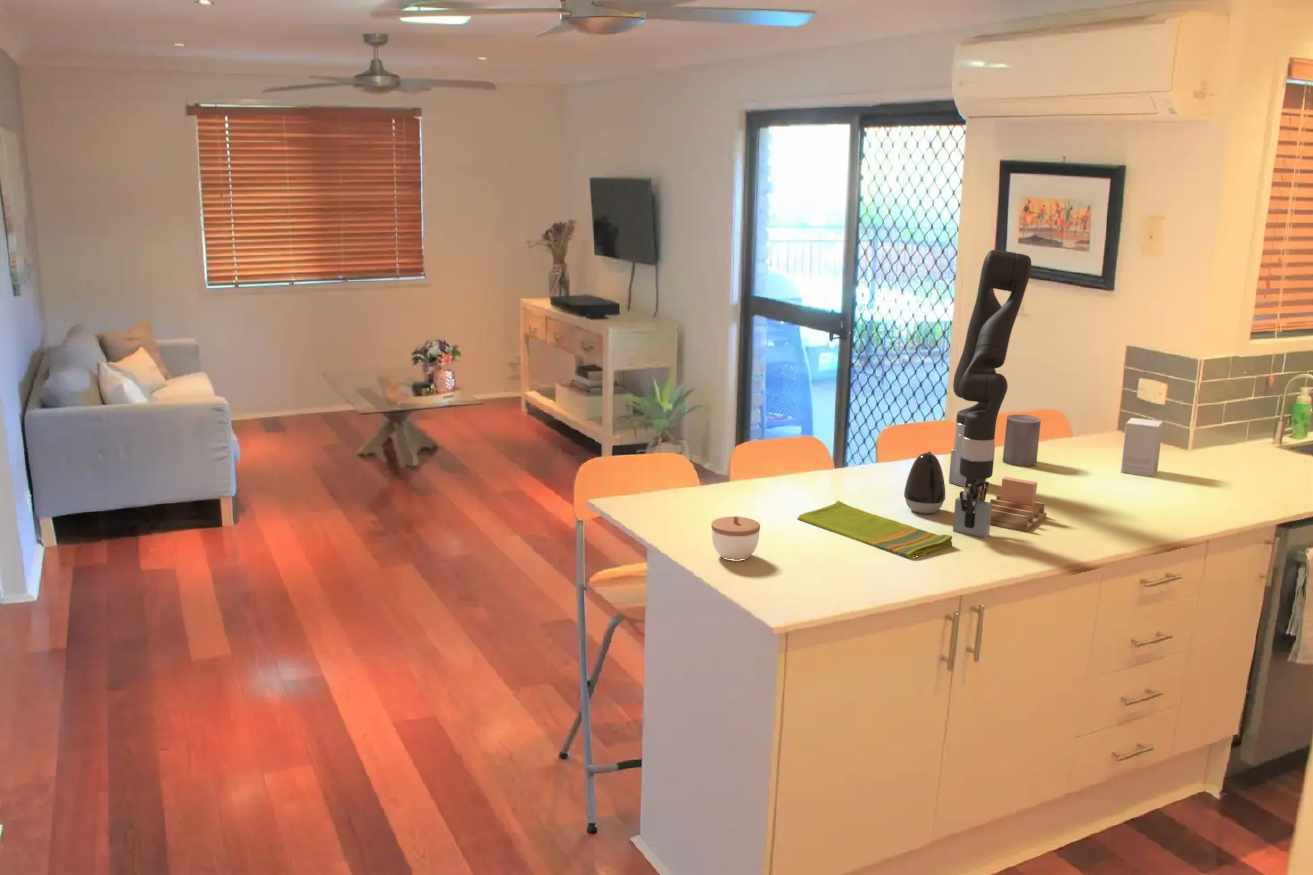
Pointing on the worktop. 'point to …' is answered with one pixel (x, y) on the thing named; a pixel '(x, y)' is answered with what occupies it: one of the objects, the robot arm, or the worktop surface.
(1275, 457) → the worktop surface
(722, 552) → the lidded jar
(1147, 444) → the supplement box
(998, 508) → the dish rack
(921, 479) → the black egg-shaped piece
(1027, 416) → the pillar candle
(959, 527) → the slate grey rectangular block
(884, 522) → the dish towel
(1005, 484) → the terracotta plate
